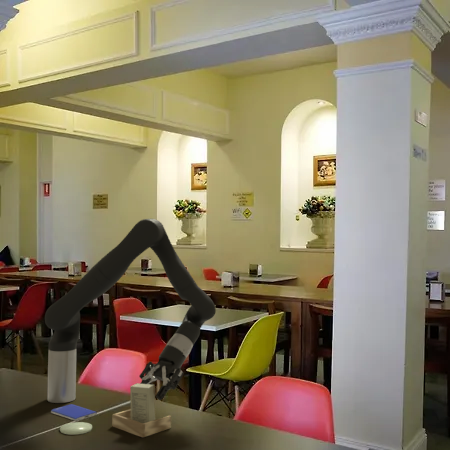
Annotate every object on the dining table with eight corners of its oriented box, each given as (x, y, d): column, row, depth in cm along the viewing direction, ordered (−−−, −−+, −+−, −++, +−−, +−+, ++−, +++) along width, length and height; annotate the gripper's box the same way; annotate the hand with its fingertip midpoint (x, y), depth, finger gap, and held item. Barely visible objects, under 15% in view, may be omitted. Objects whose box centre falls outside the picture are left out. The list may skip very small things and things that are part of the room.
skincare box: (155, 425, 166) (156, 384, 166) (148, 430, 162) (149, 388, 162) (136, 423, 168) (137, 382, 168) (129, 427, 164) (129, 385, 164)
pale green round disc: (62, 424, 166) (62, 422, 166) (93, 423, 167) (93, 421, 167) (58, 435, 157) (58, 433, 157) (90, 434, 158) (91, 431, 158)
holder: (140, 417, 173) (140, 406, 173) (170, 427, 164) (171, 415, 164) (112, 426, 165) (112, 414, 165) (142, 437, 156) (142, 424, 156)
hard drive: (51, 409, 177) (75, 417, 169) (72, 403, 183) (97, 411, 176) (51, 414, 177) (75, 423, 169) (72, 408, 183) (97, 416, 176)
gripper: (154, 341, 178) (125, 384, 169) (186, 347, 169) (158, 393, 160) (166, 355, 182) (139, 398, 173) (198, 362, 173) (171, 407, 164)
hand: (148, 395), depth 167 cm, fingers open, 8 cm apart
